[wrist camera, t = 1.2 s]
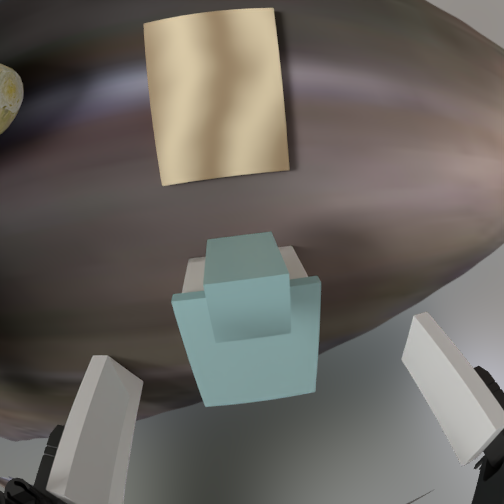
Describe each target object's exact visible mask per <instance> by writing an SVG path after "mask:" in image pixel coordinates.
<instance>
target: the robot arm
mask: <svg viewBox="0 0 504 504" xmlns="http://www.w3.org/2000/svg"><path fill="white" fill-rule="evenodd" d="M401 360H402V361H403V363H404V364H405V366H406V368H407V370H408V371H409V373H410V374H411V376H412V378H413V379H414V381H415V383H416V384H417V386H418V388H419V389H420V391H421V392H422V395H423V396H424V398H425V400H426V401H427V403H428V405H429V407H430V408H431V410H432V412H433V414H434V415H435V417H436V419H437V421H438V422H439V424H440V426H441V428H442V430H443V432H444V433H445V435H446V437H447V439H448V441H449V443H450V445H451V446H452V448H453V450H454V452H455V454H456V456H457V458H458V460H459V461H460V464H461V466H464V465H466V464H468V463H469V462H471V461H473V460H474V459H476V458H477V457H478V456H479V455H480V454H481V453H482V452H484V454H485V456H483V457H482V458H481V460H480V461H478V463H477V464H476V465H475V467H474V469H476V468H478V467H479V466H480V465H481V464H482V465H481V467H480V468H479V470H480V474H479V478H478V482H477V486H476V490H475V494H474V497H473V501H472V504H504V393H503V391H502V390H501V389H500V387H499V385H498V384H497V383H495V380H494V379H493V378H492V376H491V375H490V374H489V372H488V371H486V370H485V369H483V368H481V367H480V366H477V367H475V368H473V367H472V366H471V365H470V363H469V362H468V361H467V360H466V358H465V357H464V356H463V354H462V353H461V352H460V351H459V349H458V348H457V347H456V346H455V344H454V343H453V342H452V341H451V339H450V338H449V337H448V336H447V335H446V333H445V332H444V331H443V330H442V329H441V327H440V326H439V325H438V324H437V323H436V322H435V320H434V319H433V318H432V317H431V316H430V315H429V313H428V312H424V313H420V314H417V315H414V316H413V320H412V324H411V327H410V331H409V335H408V339H407V342H406V346H405V349H404V352H403V356H402V359H401ZM129 398H130V395H129V394H128V392H127V390H126V388H125V387H124V385H123V383H122V381H121V380H120V378H119V376H118V374H117V372H116V370H115V368H114V367H113V365H112V363H111V361H110V359H109V357H108V355H93V357H92V359H91V361H90V363H89V366H88V368H87V371H86V373H85V375H84V378H83V380H82V383H81V385H80V388H79V390H78V393H77V395H76V398H75V401H74V403H73V406H72V409H71V411H70V414H69V417H68V420H67V422H66V425H65V426H62V425H57V426H56V428H55V429H54V430H53V431H52V433H51V434H50V436H49V439H48V442H47V447H46V448H45V451H44V455H43V457H42V460H41V463H40V466H39V470H38V473H37V476H36V480H35V483H34V486H31V485H30V484H28V483H27V482H26V481H24V480H23V479H20V478H14V479H12V480H10V481H9V482H8V483H7V485H6V486H5V492H4V493H3V492H1V491H0V504H108V501H109V495H110V489H111V483H112V477H113V472H114V466H115V461H116V456H117V451H118V446H119V441H120V437H121V432H122V427H123V423H124V419H125V414H126V410H127V406H128V402H129Z"/></svg>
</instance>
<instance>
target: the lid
mask: <svg viewBox="0 0 504 504" xmlns="http://www.w3.org/2000/svg"><path fill="white" fill-rule="evenodd" d="M203 287H204V291H197V292H188V293H179V294H173V297H172V301H171V302H172V306H173V309H174V313H175V316H176V320H177V323H178V327H179V330H180V333H181V336H182V340H183V343H184V346H185V349H186V352H187V356H188V359H189V362H190V365H191V368H192V371H193V374H194V377H195V380H196V382H197V385H198V388H199V391H200V394H201V397H202V399H203V402H204V405H205V407H210V406H222V405H233V404H242V403H249V402H258V401H265V400H272V399H279V398H284V397H290V396H296V395H302V394H307V393H312V392H315V388H316V375H317V363H318V347H319V329H320V305H321V281H320V279H319V277H318V276H311V277H304V278H297V279H290V280H289V272H288V270H287V267H286V265H285V262H284V260H283V258H282V255H281V253H280V251H279V248H278V246H277V244H276V241H275V239H274V237H273V235H272V232H264V233H256V234H248V235H240V236H232V237H224V238H216V239H208V240H207V248H206V259H205V269H204V280H203Z"/></svg>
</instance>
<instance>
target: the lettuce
mask: <svg viewBox="0 0 504 504" xmlns="http://www.w3.org/2000/svg"><path fill="white" fill-rule="evenodd" d="M23 93H24V90H23V83H22V80H21V78H20V76H19V75H18V74H17V72H15V71H14V70H13V69H12V68H9V67H7V66H5V65H2V64H0V135H1V134H2V133H3V132H4V131H5V130H6V129H7V128H8V127H9V125H10V124H11V123H12V121H13V120H14V118H15V117H16V115H17V113H18V111H19V108H20V106H21V103H22V100H23Z"/></svg>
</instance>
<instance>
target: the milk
mask: <svg viewBox="0 0 504 504" xmlns="http://www.w3.org/2000/svg"><path fill="white" fill-rule="evenodd" d="M109 359H110V361H111V363H112V365H113V367H114V368H115V370H116V372H117V374H118V376H119V378H120V380H121V381H122V383H123V385H124V387H125V388H126V390H127V392H128V394H129V395H130V398H129V402H128V406H127V410H126V414H125V419H124V423H123V427H122V432H121V437H120V441H119V446H118V451H117V456H116V461H115V466H114V472H113V477H112V483H111V489H110V495H109V501H108V504H123V502H124V493H125V485H126V477H127V471H128V463H129V457H130V451H131V444H132V439H133V433H134V427H135V422H136V417H137V412H138V406H139V401H140V396H141V392H142V387H143V381H142V380H141V379H139V378H138V377H137V376H135V375H134V374H132V373H131V372H130V371H128V370H127V369H125V368H124V367H123V366H121V365H120V364H119V363H117V362H116V361H115V360H114V359H112V358H111V357H110V356H109Z"/></svg>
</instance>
